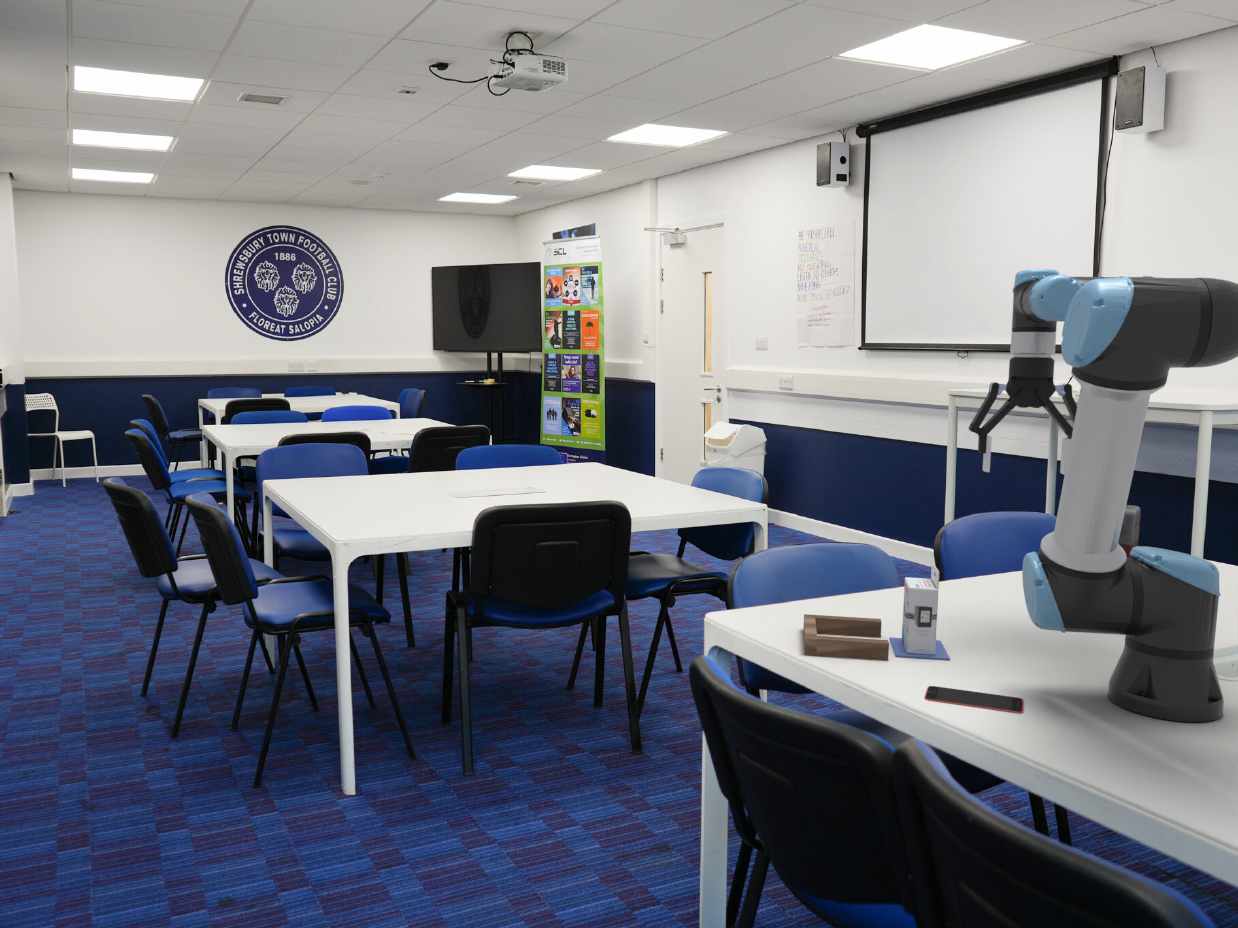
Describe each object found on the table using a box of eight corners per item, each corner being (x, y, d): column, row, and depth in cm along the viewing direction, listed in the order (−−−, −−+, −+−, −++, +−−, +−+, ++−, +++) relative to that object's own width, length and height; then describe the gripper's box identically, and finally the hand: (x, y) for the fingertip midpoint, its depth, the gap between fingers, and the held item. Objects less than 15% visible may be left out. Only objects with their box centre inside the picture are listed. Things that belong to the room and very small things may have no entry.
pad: (950, 660, 167) (950, 658, 167) (895, 656, 169) (895, 654, 169) (940, 641, 178) (940, 640, 178) (889, 638, 179) (889, 637, 179)
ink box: (900, 639, 178) (904, 560, 176) (929, 641, 177) (933, 561, 175) (906, 653, 170) (910, 570, 168) (935, 655, 169) (940, 571, 167)
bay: (888, 660, 167) (889, 643, 166) (804, 654, 169) (805, 638, 169) (879, 634, 182) (880, 618, 182) (803, 629, 185) (804, 614, 184)
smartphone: (928, 684, 154) (1024, 697, 149) (927, 688, 154) (1023, 701, 149) (923, 698, 148) (1023, 712, 142) (923, 702, 148) (1023, 716, 142)
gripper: (1099, 357, 179) (1091, 472, 181) (956, 355, 183) (950, 467, 185) (1112, 357, 171) (1103, 477, 174) (963, 355, 176) (957, 472, 178)
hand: (1024, 472), depth 179 cm, fingers open, 13 cm apart
